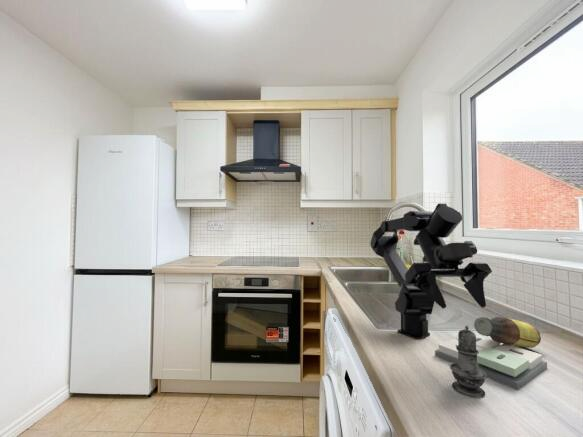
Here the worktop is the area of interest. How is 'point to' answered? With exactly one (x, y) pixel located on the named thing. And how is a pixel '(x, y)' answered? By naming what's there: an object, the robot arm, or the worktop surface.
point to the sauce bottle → (508, 331)
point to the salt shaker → (468, 367)
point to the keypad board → (501, 376)
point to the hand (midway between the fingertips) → (464, 307)
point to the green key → (502, 362)
